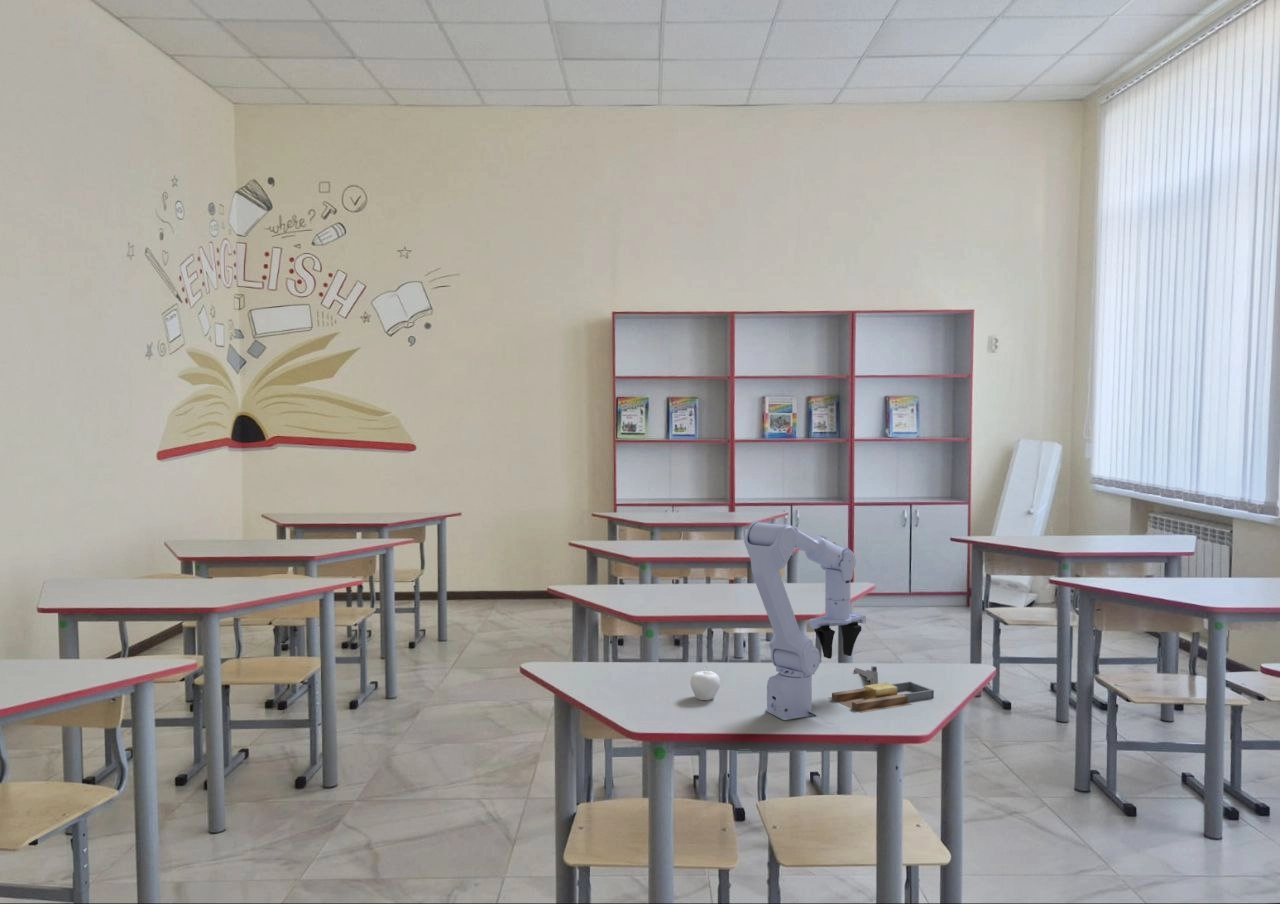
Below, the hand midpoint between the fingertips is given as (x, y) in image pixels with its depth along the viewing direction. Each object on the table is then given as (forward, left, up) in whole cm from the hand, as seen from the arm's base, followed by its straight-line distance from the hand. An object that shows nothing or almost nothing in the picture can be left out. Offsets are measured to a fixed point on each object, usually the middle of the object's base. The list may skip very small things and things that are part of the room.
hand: (837, 656), depth 218 cm
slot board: (+3, -8, -10) cm, 13 cm away
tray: (+14, -8, -10) cm, 19 cm away
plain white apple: (-28, +13, -10) cm, 33 cm away
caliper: (+15, +9, -10) cm, 20 cm away
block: (+6, -8, -9) cm, 13 cm away
